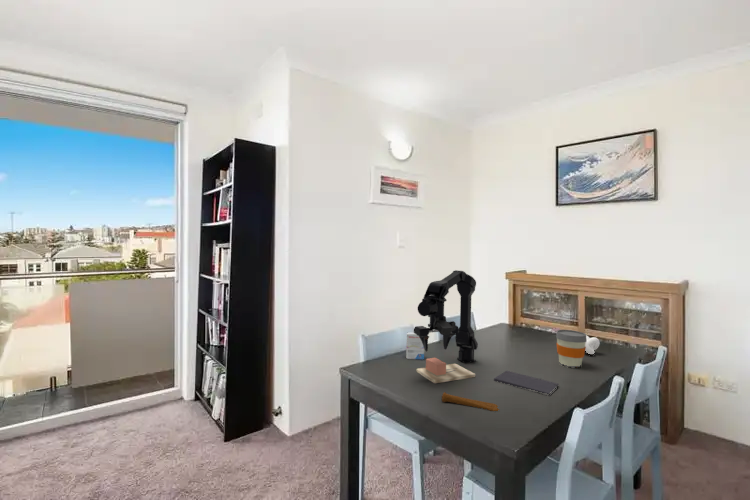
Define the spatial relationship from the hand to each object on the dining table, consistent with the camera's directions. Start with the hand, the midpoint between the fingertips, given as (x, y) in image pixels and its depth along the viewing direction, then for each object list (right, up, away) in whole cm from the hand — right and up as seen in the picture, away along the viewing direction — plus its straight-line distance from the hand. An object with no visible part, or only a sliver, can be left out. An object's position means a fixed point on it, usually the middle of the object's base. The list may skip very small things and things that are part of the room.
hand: (435, 350), depth 155 cm
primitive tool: (+8, -12, -26) cm, 30 cm away
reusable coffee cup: (+65, -12, +18) cm, 69 cm away
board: (+4, -11, +2) cm, 12 cm away
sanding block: (0, -10, 0) cm, 10 cm away
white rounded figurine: (+84, -12, +37) cm, 93 cm away
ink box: (-6, -10, +24) cm, 27 cm away
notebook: (+35, -13, -6) cm, 38 cm away
